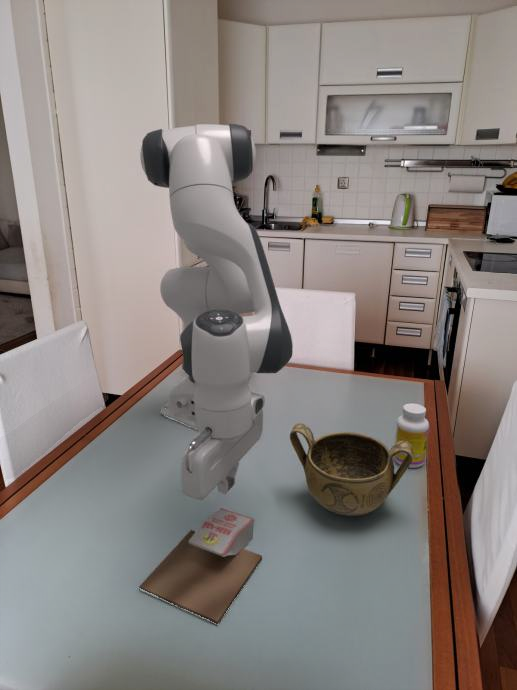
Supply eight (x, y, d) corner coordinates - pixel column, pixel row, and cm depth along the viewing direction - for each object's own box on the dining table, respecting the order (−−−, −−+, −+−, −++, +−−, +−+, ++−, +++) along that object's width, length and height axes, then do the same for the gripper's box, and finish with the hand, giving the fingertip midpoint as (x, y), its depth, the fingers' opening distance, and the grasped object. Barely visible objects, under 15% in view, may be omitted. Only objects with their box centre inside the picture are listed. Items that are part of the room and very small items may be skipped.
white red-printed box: (252, 538, 86) (223, 567, 77) (219, 526, 89) (187, 553, 80) (254, 519, 85) (224, 545, 77) (221, 507, 88) (188, 531, 80)
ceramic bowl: (277, 517, 91) (278, 446, 86) (301, 468, 106) (303, 405, 101) (402, 545, 84) (411, 470, 79) (409, 488, 99) (416, 422, 94)
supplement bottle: (426, 470, 105) (433, 416, 101) (394, 467, 106) (399, 414, 102) (423, 454, 111) (429, 402, 107) (392, 451, 112) (397, 400, 108)
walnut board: (139, 590, 76) (139, 586, 75) (191, 533, 87) (191, 529, 87) (217, 625, 70) (217, 621, 69) (262, 559, 81) (262, 555, 81)
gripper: (204, 453, 67) (209, 534, 72) (269, 392, 84) (269, 461, 89) (166, 442, 70) (174, 521, 75) (236, 385, 87) (239, 453, 92)
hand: (226, 488), depth 82 cm, fingers closed
